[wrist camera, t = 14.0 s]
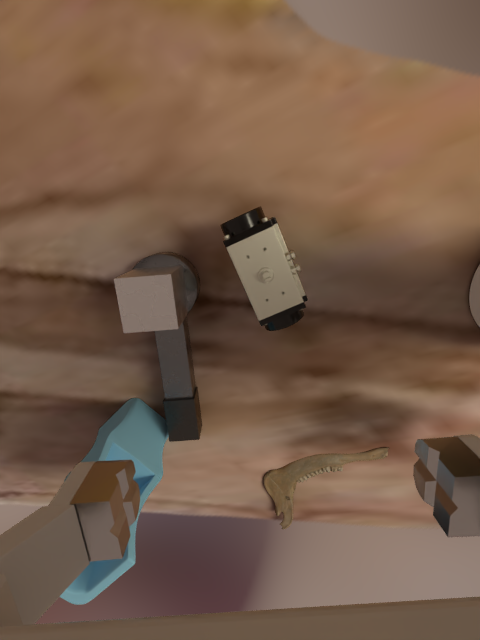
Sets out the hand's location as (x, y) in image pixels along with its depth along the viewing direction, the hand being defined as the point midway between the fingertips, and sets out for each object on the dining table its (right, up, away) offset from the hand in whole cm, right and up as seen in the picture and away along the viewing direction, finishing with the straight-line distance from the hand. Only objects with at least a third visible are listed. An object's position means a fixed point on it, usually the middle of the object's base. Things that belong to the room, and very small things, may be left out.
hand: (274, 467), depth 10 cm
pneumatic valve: (+2, +12, +32) cm, 34 cm away
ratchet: (-9, +1, +35) cm, 36 cm away
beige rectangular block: (-10, +8, +30) cm, 32 cm away
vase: (-16, -11, +39) cm, 44 cm away
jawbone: (+12, -21, +42) cm, 49 cm away
